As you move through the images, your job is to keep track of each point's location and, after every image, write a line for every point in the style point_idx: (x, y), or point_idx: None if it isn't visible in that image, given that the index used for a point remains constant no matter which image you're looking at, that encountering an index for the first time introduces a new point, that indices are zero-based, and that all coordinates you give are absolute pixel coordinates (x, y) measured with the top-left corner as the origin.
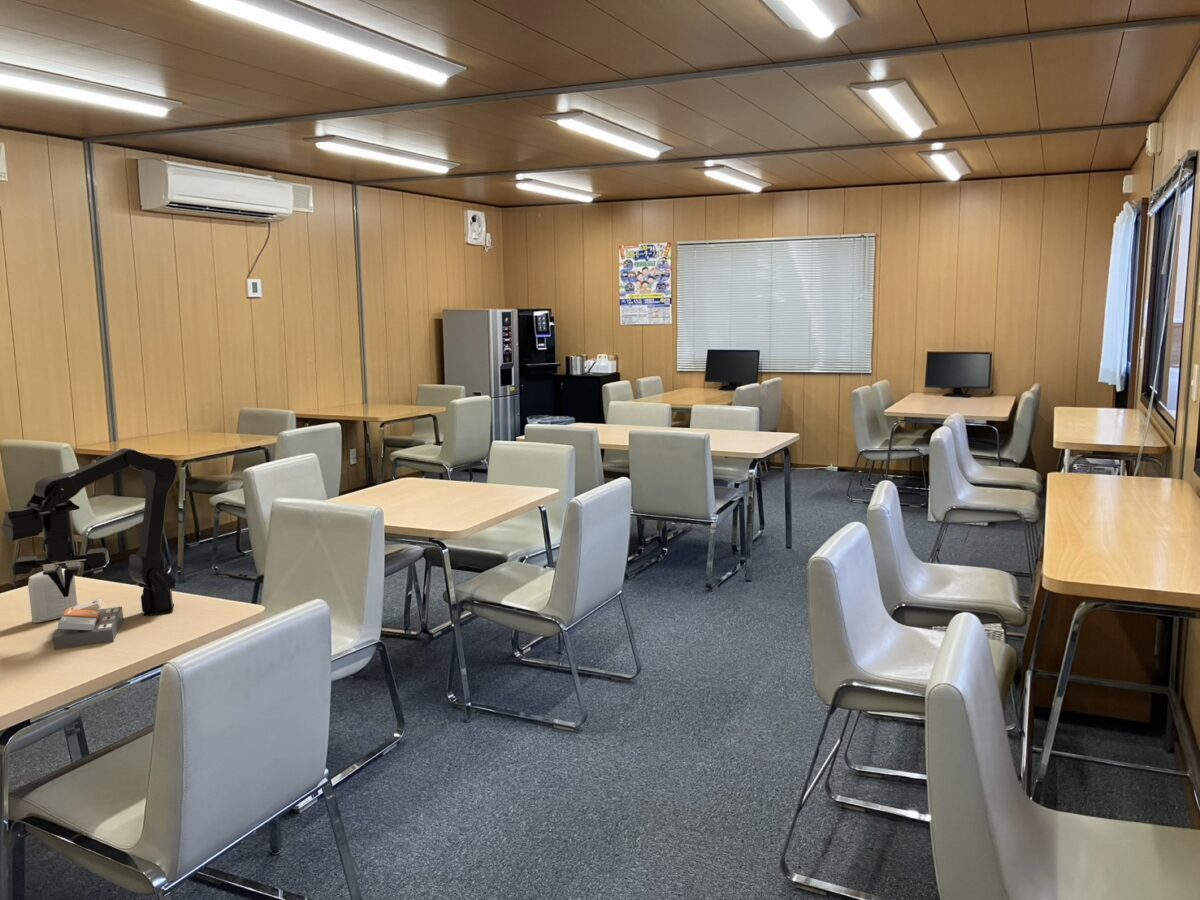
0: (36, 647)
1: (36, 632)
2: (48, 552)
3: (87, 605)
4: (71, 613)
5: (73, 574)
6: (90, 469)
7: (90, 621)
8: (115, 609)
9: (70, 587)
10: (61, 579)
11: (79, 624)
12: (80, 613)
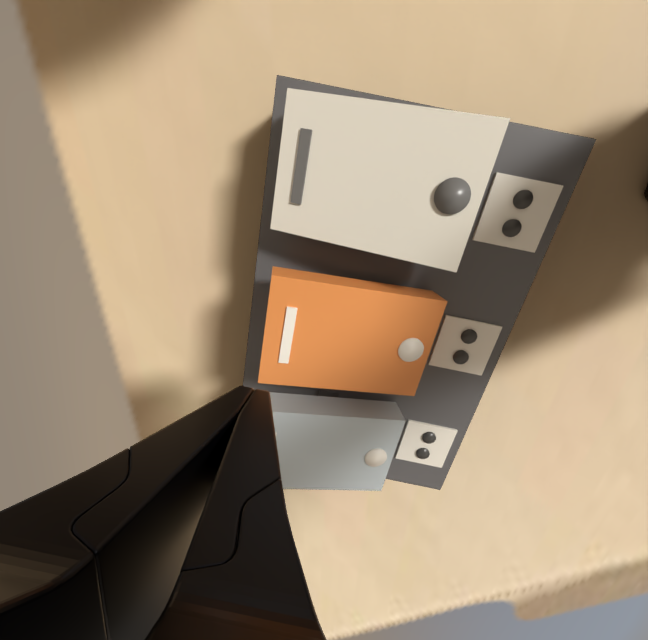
0: (192, 351)
1: (157, 132)
2: None
3: (395, 223)
4: (298, 359)
5: (292, 591)
6: None
7: (375, 466)
8: (539, 200)
9: (274, 436)
10: (143, 607)
11: (329, 487)
12: (342, 356)
